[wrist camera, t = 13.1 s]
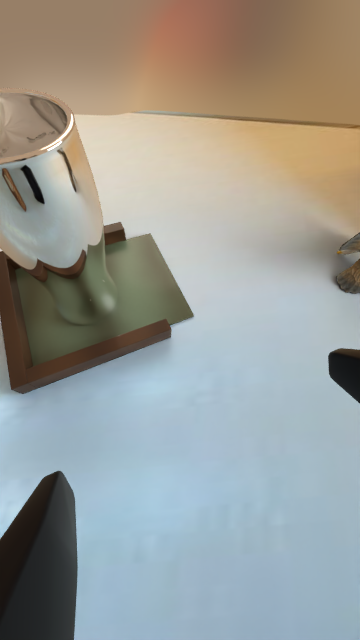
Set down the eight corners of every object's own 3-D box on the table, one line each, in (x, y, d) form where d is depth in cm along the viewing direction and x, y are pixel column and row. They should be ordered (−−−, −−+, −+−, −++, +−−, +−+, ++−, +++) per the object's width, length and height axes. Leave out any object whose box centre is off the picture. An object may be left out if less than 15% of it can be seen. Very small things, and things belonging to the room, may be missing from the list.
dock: (146, 227, 30) (145, 215, 28) (198, 326, 24) (201, 317, 22) (1, 265, 26) (-9, 253, 24) (22, 394, 20) (10, 389, 19)
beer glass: (38, 321, 23) (-133, 148, 10) (68, 264, 26) (-29, 76, 13) (110, 336, 23) (37, 179, 9) (131, 277, 26) (99, 98, 13)
